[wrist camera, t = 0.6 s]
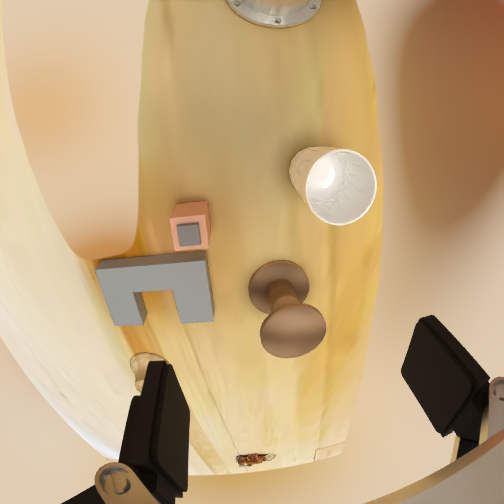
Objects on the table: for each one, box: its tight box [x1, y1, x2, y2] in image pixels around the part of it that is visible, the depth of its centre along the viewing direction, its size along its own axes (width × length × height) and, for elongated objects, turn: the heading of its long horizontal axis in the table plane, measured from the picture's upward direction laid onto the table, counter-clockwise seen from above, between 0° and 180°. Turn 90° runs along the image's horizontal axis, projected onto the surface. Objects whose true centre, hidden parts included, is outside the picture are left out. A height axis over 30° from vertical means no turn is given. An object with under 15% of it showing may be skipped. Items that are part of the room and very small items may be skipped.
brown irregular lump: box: [236, 453, 276, 467], centre depth 68 cm, size 7×12×4 cm, turn 97°
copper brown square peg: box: [170, 201, 211, 251], centre depth 34 cm, size 4×4×7 cm
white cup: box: [289, 147, 377, 225], centre depth 31 cm, size 8×8×10 cm
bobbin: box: [249, 260, 326, 358], centre depth 38 cm, size 9×9×11 cm
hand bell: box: [130, 353, 169, 393], centre depth 41 cm, size 8×8×16 cm
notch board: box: [95, 251, 214, 326], centre depth 39 cm, size 16×10×3 cm, turn 93°
